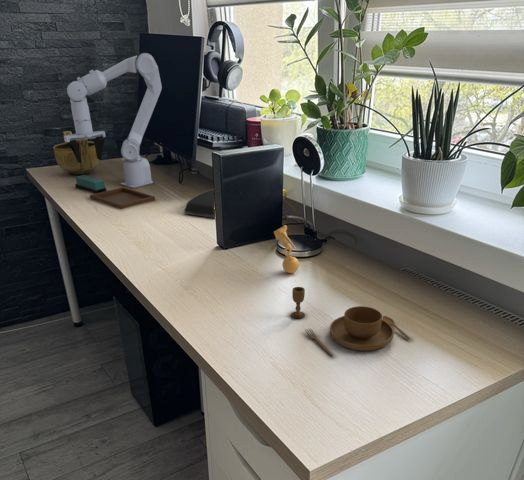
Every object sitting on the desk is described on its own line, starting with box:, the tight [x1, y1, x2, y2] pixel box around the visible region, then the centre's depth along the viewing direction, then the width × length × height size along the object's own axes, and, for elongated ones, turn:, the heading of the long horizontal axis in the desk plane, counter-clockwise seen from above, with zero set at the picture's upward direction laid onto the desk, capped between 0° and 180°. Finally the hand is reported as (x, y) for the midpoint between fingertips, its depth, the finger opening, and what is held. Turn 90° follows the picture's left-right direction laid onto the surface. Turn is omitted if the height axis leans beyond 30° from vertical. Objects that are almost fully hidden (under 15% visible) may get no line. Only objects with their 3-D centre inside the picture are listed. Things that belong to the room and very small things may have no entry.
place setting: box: [290, 286, 411, 357], centre depth 100 cm, size 18×20×6 cm
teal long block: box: [74, 174, 107, 194], centre depth 188 cm, size 14×4×4 cm, turn 47°
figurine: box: [273, 224, 300, 274], centre depth 121 cm, size 8×6×12 cm
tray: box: [89, 186, 156, 210], centre depth 177 cm, size 14×19×2 cm
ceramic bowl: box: [52, 130, 100, 176], centre depth 207 cm, size 22×17×15 cm
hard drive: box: [183, 188, 216, 219], centre depth 167 cm, size 13×19×4 cm
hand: (89, 160), depth 187 cm, fingers open, 7 cm apart
